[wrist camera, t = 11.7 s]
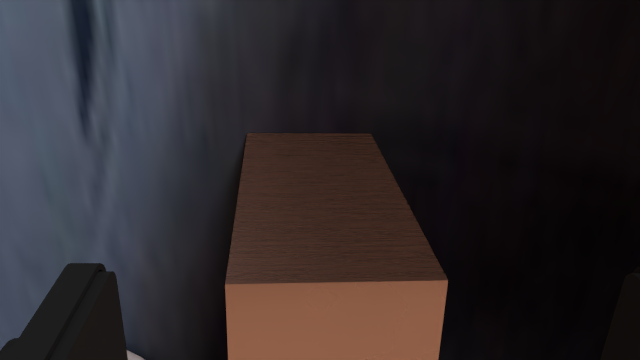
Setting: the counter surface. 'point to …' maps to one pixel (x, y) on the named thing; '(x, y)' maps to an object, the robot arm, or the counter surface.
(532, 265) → the counter surface
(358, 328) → the orange-brown mallet
